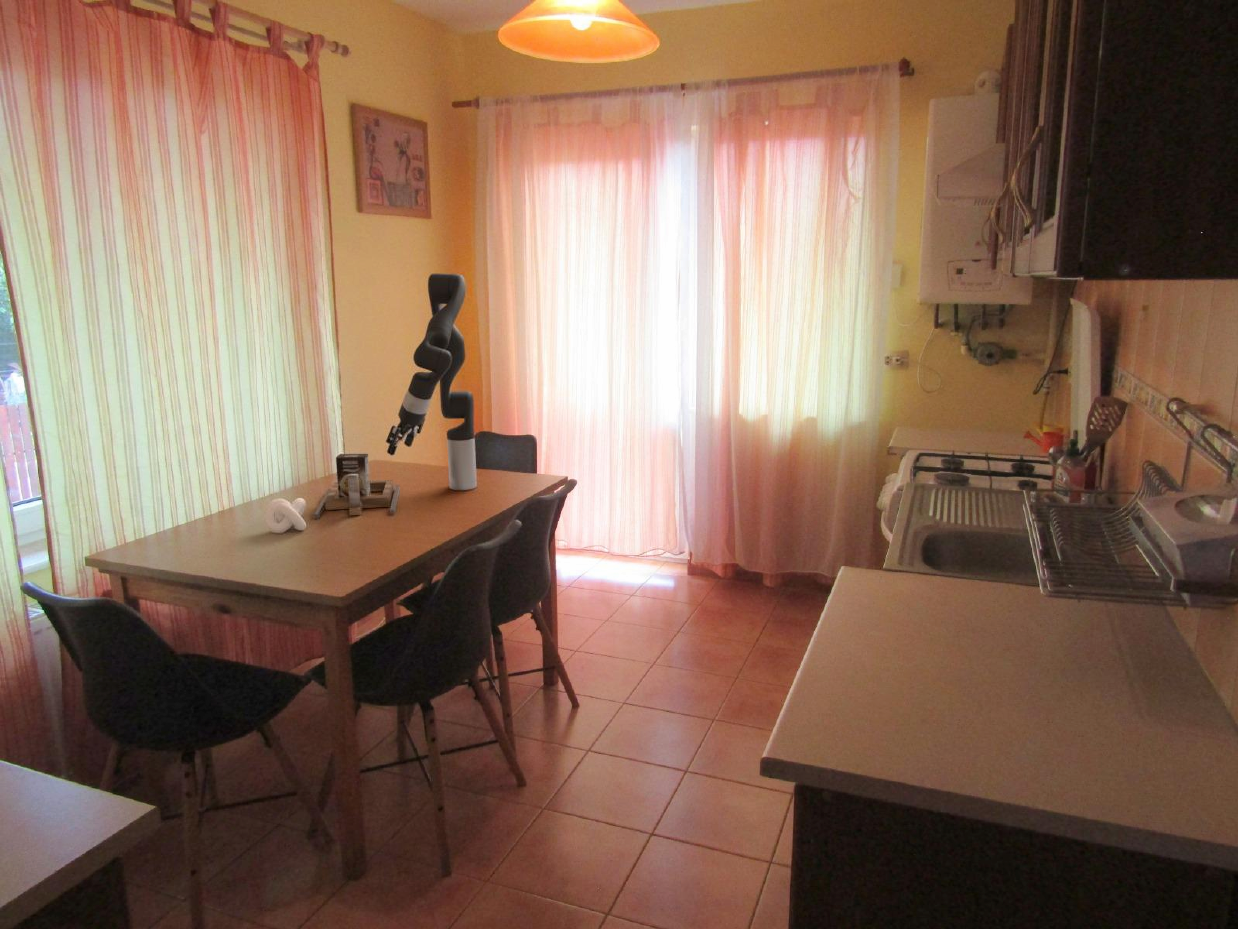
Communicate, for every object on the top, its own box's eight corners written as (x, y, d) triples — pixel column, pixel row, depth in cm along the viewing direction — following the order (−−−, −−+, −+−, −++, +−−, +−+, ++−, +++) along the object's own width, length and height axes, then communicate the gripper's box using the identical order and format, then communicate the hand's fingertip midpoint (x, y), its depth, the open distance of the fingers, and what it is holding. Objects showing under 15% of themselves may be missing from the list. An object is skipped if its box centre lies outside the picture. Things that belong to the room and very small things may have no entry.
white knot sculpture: (262, 538, 242) (259, 507, 240) (267, 526, 253) (264, 496, 251) (305, 534, 245) (302, 504, 243) (308, 523, 256) (305, 493, 254)
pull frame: (335, 491, 292) (332, 456, 289) (393, 488, 295) (391, 453, 292) (322, 517, 261) (318, 478, 258) (386, 513, 264) (384, 475, 262)
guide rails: (328, 493, 290) (328, 488, 290) (399, 489, 295) (399, 485, 294) (314, 519, 260) (313, 514, 259) (394, 514, 264) (393, 509, 264)
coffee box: (338, 507, 273) (334, 457, 269) (342, 502, 279) (338, 453, 275) (368, 506, 274) (364, 456, 270) (371, 501, 280) (368, 452, 276)
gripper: (419, 393, 260) (403, 436, 267) (390, 405, 247) (374, 450, 255) (438, 406, 259) (422, 449, 266) (410, 418, 246) (394, 463, 254)
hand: (398, 449), depth 260 cm, fingers open, 8 cm apart
